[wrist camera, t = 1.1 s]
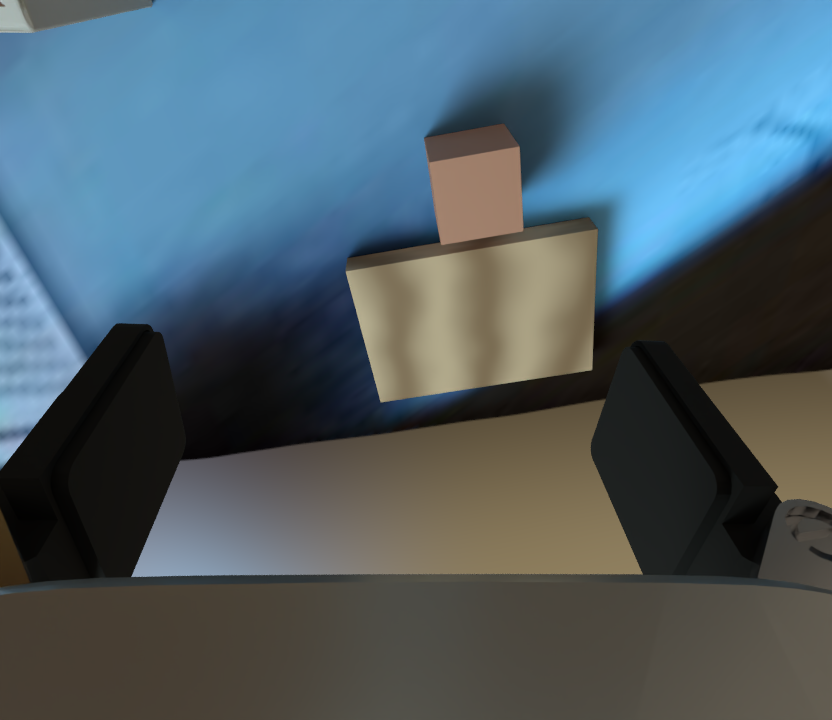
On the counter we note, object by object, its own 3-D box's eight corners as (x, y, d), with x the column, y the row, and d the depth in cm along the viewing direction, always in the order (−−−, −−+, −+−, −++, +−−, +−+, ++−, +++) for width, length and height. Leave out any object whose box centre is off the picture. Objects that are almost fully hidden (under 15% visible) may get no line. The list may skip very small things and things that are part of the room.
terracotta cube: (503, 123, 34) (519, 146, 30) (508, 200, 37) (523, 231, 33) (424, 137, 34) (429, 162, 30) (435, 213, 37) (441, 245, 33)
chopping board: (380, 386, 46) (380, 402, 44) (347, 258, 39) (345, 271, 37) (584, 354, 45) (592, 369, 43) (588, 217, 38) (597, 229, 36)
